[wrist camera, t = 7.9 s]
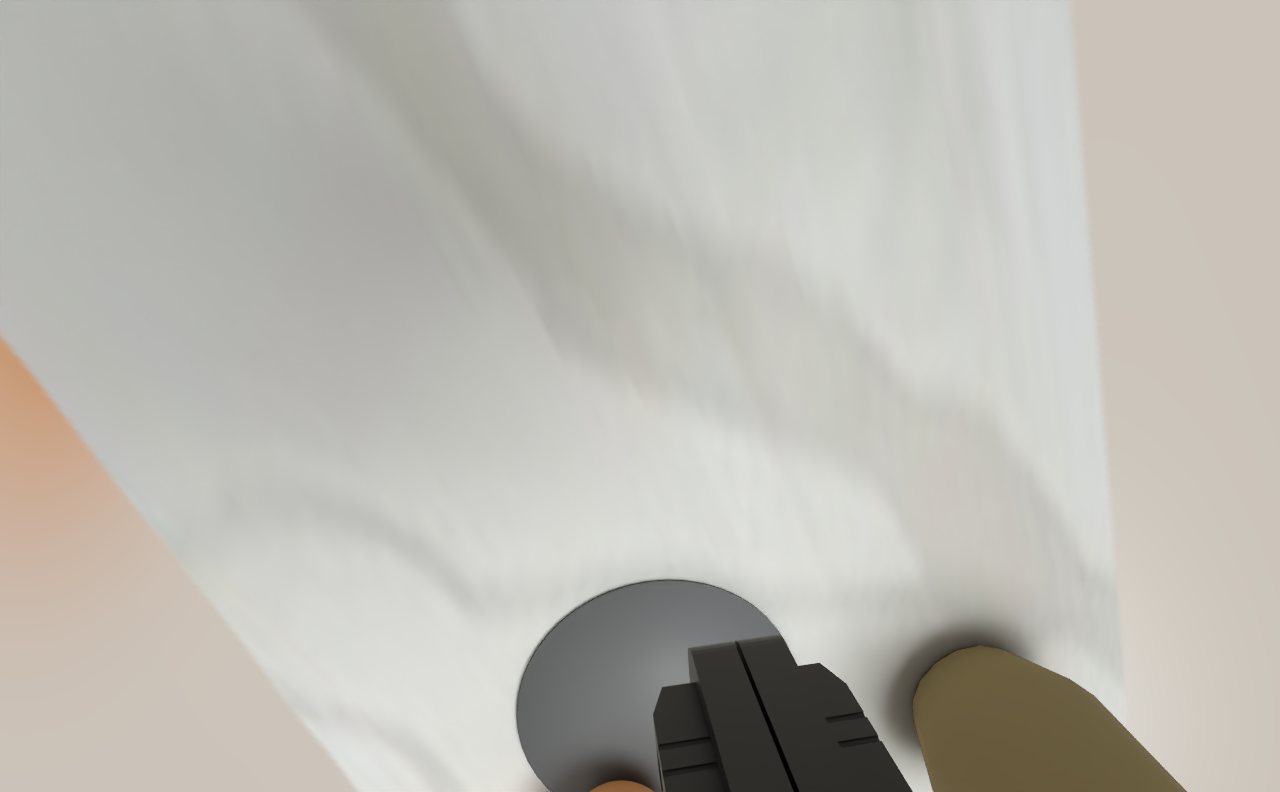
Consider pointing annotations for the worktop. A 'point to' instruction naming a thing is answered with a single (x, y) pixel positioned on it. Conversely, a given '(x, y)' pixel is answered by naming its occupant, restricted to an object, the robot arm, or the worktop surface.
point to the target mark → (619, 679)
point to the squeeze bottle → (1023, 731)
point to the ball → (621, 787)
